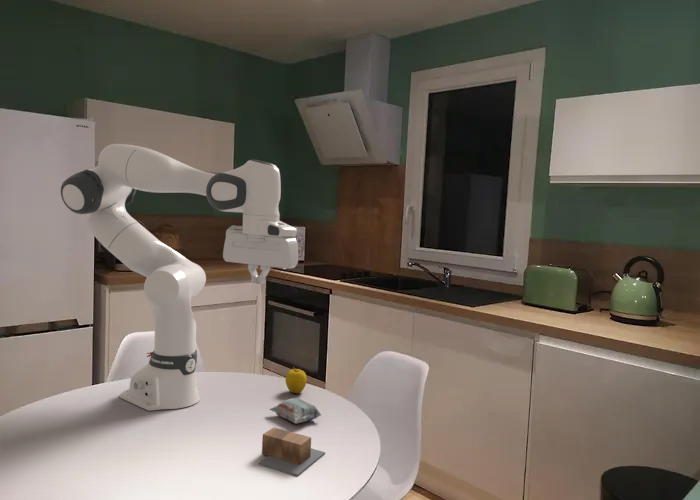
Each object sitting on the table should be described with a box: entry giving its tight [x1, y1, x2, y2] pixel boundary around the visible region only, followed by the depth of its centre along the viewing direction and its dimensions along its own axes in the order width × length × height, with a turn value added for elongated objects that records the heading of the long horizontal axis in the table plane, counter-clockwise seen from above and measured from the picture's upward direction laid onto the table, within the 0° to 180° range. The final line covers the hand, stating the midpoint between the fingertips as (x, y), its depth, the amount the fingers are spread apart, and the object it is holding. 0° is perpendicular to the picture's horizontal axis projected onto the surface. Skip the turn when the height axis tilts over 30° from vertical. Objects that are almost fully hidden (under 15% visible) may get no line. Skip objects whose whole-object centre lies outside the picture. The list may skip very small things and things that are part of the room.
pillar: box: [261, 427, 312, 465], centre depth 117 cm, size 4×4×10 cm
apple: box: [285, 366, 308, 394], centre depth 159 cm, size 6×6×8 cm
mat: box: [257, 448, 326, 477], centre depth 117 cm, size 10×12×1 cm
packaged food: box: [269, 397, 322, 424], centre depth 139 cm, size 9×12×5 cm
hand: (258, 283), depth 129 cm, fingers closed
